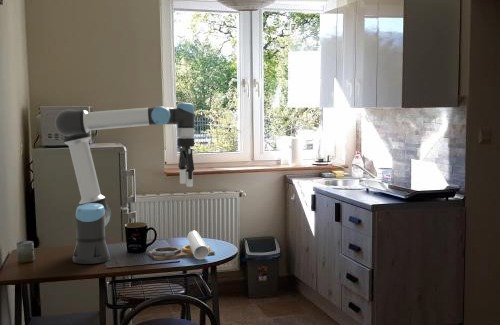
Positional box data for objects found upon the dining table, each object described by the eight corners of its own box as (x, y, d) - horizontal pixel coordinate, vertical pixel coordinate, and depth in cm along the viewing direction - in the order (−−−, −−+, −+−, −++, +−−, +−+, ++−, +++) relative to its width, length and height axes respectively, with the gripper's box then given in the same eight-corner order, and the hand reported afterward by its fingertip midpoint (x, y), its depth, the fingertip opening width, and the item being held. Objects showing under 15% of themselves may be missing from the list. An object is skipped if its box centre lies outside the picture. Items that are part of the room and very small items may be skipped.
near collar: (156, 256, 243) (156, 253, 243) (150, 251, 254) (150, 248, 254) (182, 254, 248) (182, 251, 248) (176, 249, 258) (176, 245, 258)
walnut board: (155, 260, 243) (155, 257, 243) (148, 254, 255) (148, 251, 255) (214, 254, 252) (214, 252, 252) (205, 248, 264) (205, 246, 264)
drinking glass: (201, 229, 255) (210, 246, 242) (198, 242, 257) (207, 260, 244) (187, 228, 253) (195, 245, 240) (183, 241, 255) (191, 259, 242)
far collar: (186, 254, 248) (186, 250, 248) (179, 248, 259) (179, 245, 259) (212, 251, 252) (212, 248, 252) (204, 246, 263) (204, 243, 263)
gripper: (201, 138, 250) (201, 187, 251) (187, 137, 273) (188, 182, 275) (183, 138, 247) (184, 188, 249) (171, 137, 271) (172, 182, 272)
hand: (186, 185), depth 262 cm, fingers open, 13 cm apart
